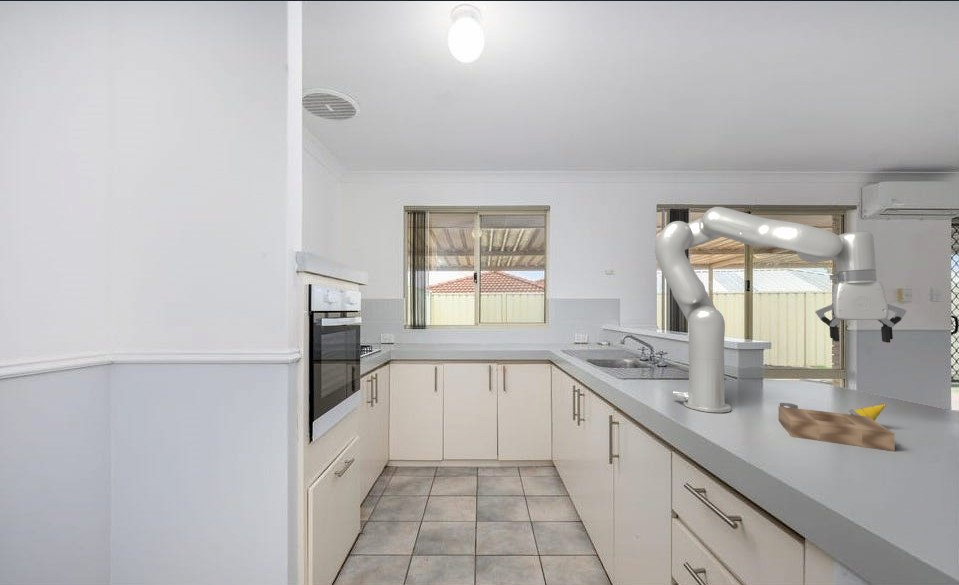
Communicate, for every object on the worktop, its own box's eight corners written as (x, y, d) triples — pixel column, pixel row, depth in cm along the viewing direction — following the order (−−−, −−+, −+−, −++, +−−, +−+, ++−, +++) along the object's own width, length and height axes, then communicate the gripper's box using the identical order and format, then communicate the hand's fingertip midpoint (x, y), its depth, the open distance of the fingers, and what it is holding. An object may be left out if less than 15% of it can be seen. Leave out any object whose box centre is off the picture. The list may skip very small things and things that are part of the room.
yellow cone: (845, 423, 103) (882, 402, 99) (862, 438, 98) (901, 416, 95) (834, 413, 102) (871, 391, 98) (850, 427, 97) (889, 405, 94)
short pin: (781, 419, 105) (781, 405, 105) (778, 415, 108) (778, 402, 108) (799, 421, 103) (799, 407, 103) (796, 418, 106) (795, 404, 106)
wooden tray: (791, 436, 91) (790, 420, 91) (778, 420, 104) (778, 406, 104) (894, 451, 83) (894, 433, 83) (867, 432, 95) (867, 416, 95)
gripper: (816, 279, 102) (820, 342, 101) (909, 275, 92) (914, 343, 92) (810, 280, 108) (814, 339, 107) (896, 276, 99) (901, 341, 98)
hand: (860, 341), depth 100 cm, fingers open, 9 cm apart
